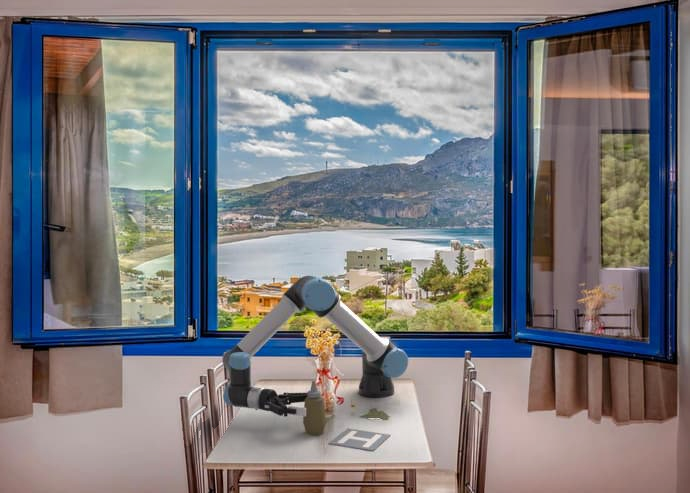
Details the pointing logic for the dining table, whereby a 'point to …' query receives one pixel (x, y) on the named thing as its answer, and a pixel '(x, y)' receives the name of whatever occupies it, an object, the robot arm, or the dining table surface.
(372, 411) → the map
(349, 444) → the pad
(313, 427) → the squeeze bottle
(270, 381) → the dining table surface
